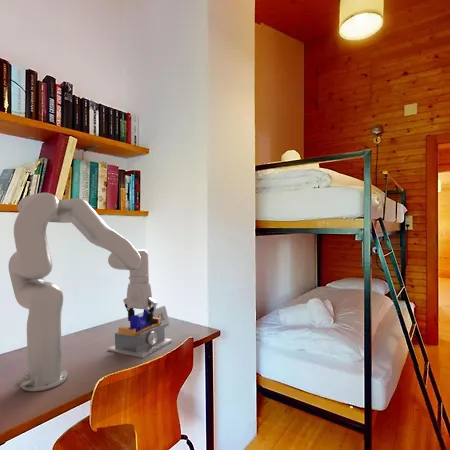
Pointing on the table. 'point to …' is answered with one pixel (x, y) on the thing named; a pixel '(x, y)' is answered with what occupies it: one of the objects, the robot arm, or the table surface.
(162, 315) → the electrical switch
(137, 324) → the blue u-shaped block
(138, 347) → the motor housing
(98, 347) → the table surface
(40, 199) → the robot arm
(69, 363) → the table surface
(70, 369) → the table surface
